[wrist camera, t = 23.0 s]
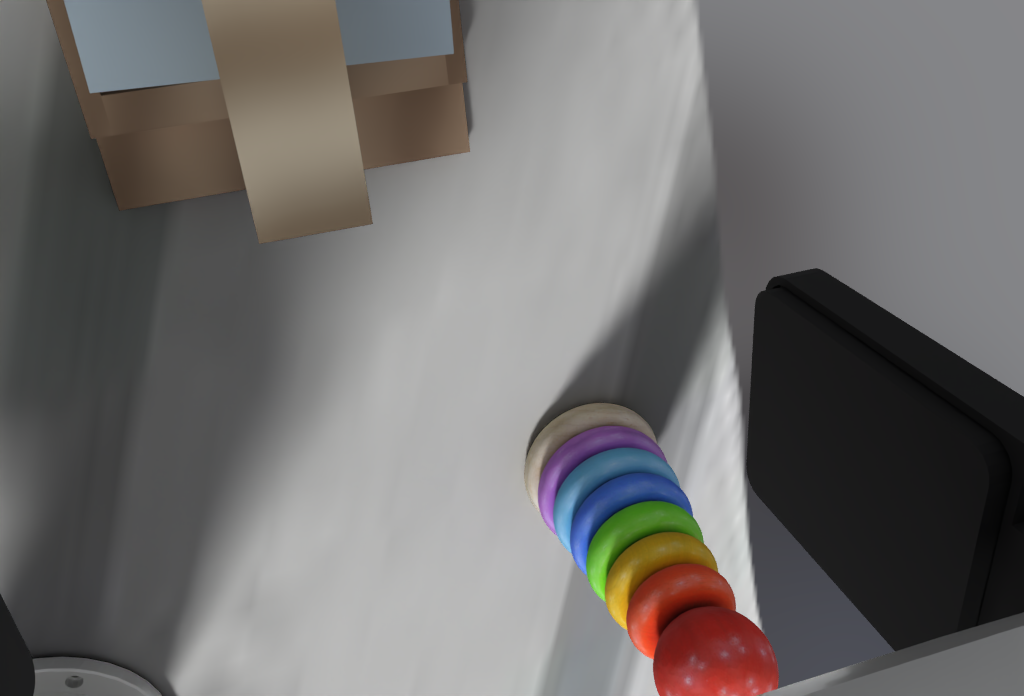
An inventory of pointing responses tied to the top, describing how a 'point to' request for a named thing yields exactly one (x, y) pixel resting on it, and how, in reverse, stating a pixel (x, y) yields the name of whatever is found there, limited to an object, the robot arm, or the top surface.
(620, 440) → the stacking toy
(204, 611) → the top surface
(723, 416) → the top surface
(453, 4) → the cradle jig
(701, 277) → the top surface
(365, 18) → the light blue rectangular block
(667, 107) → the top surface
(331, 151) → the beige rectangular block
